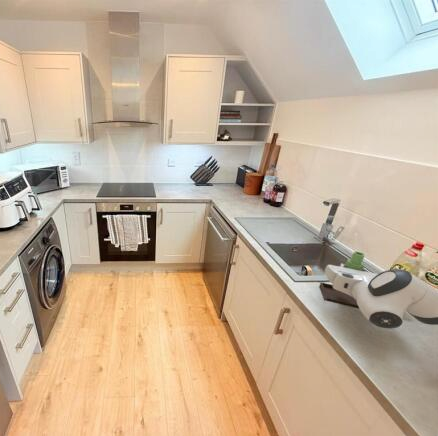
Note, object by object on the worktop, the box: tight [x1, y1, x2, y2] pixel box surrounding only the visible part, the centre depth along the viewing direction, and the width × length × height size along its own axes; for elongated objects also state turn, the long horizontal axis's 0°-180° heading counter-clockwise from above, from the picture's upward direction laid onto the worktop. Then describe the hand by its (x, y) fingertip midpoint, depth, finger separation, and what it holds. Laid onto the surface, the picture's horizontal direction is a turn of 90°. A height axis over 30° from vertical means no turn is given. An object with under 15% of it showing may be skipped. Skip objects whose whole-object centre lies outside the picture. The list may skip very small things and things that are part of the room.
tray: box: [318, 282, 360, 310], centre depth 99 cm, size 13×11×2 cm
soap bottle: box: [345, 251, 366, 271], centre depth 94 cm, size 5×5×17 cm
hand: (352, 267), depth 94 cm, fingers closed on soap bottle, 5 cm apart
